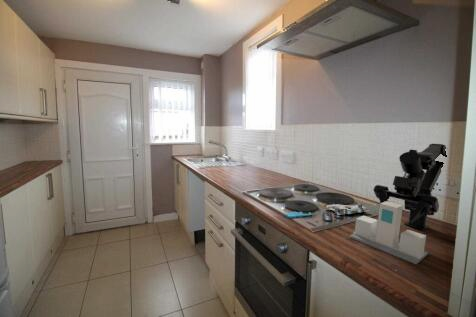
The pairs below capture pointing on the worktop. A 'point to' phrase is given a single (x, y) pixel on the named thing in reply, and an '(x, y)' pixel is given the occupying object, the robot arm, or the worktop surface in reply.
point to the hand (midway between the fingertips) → (394, 217)
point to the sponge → (295, 215)
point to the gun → (345, 207)
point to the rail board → (405, 249)
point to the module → (389, 223)
